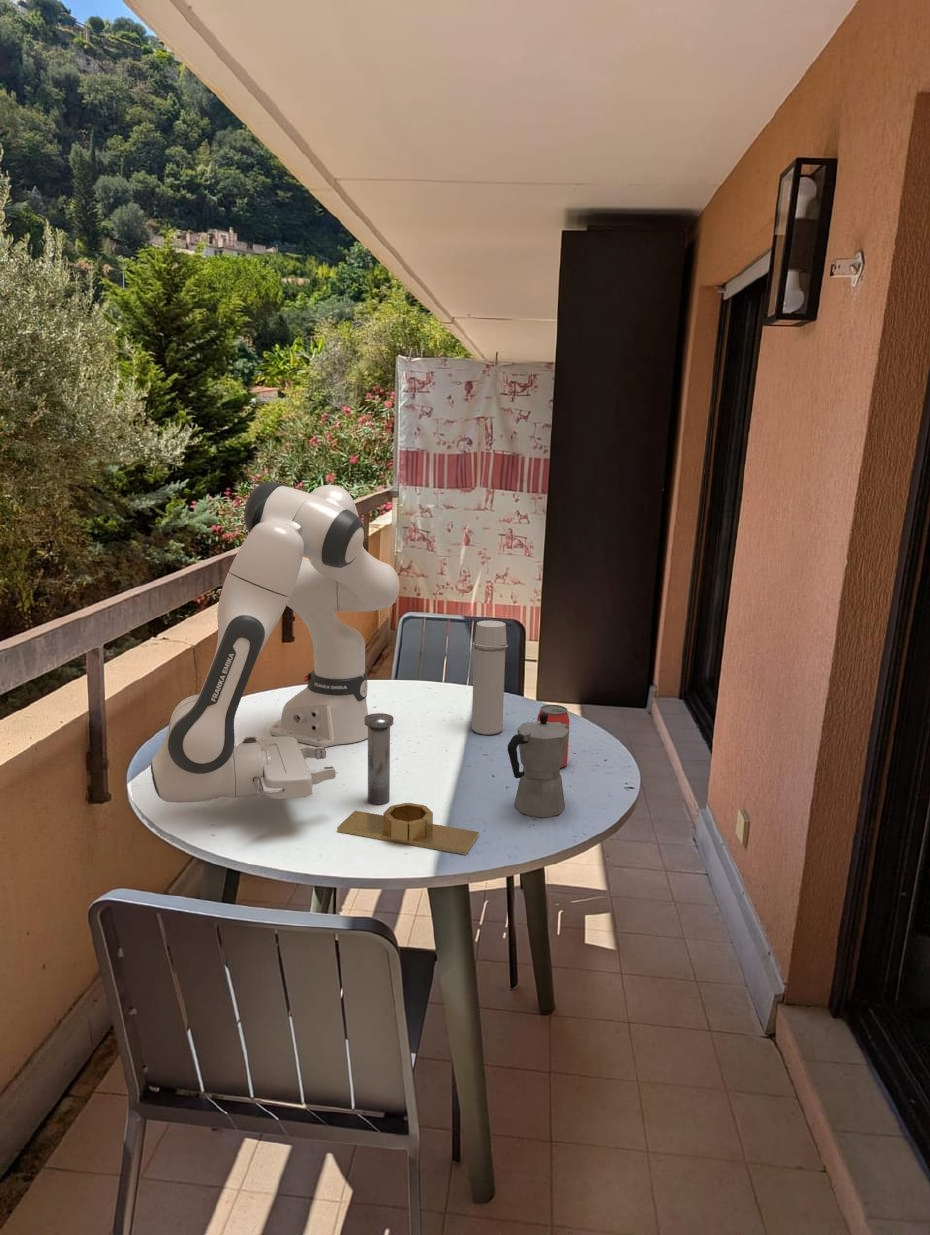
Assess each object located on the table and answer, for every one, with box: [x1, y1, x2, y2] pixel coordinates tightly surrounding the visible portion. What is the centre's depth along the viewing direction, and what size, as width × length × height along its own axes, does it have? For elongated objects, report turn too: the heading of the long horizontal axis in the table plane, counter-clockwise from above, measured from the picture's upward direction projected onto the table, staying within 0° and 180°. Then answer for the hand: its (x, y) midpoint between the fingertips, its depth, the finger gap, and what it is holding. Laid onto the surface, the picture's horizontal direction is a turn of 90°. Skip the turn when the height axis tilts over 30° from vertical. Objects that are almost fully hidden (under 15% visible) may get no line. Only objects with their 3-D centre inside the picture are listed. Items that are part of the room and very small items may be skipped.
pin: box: [364, 712, 394, 806], centre depth 158 cm, size 5×5×16 cm
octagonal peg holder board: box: [336, 802, 480, 856], centre depth 147 cm, size 23×8×4 cm, turn 72°
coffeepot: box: [507, 713, 570, 819], centre depth 156 cm, size 15×9×18 cm, turn 133°
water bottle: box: [471, 620, 509, 736], centre depth 196 cm, size 9×8×25 cm
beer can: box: [536, 704, 571, 769], centre depth 178 cm, size 7×7×12 cm
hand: (330, 762), depth 155 cm, fingers open, 8 cm apart
